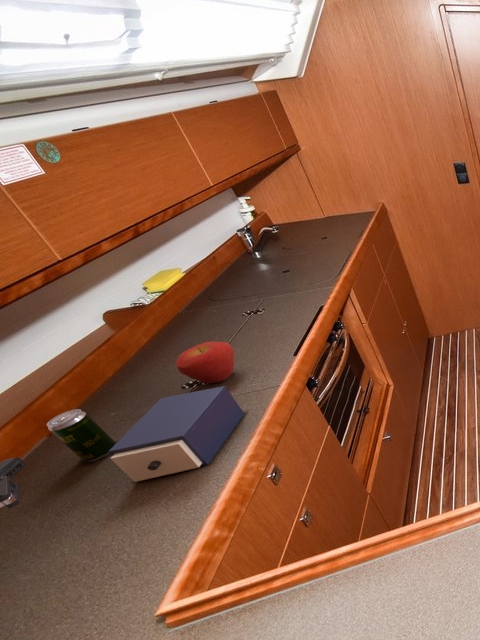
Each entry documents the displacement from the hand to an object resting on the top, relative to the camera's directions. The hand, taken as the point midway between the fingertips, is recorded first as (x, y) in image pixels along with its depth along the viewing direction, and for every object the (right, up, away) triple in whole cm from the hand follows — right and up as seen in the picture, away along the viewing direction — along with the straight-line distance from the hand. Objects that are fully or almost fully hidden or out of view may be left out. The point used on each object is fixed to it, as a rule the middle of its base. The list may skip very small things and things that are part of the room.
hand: (16, 461), depth 68 cm
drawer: (-1, -9, +27) cm, 28 cm away
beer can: (-23, -11, +28) cm, 38 cm away
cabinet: (-2, -9, +29) cm, 31 cm away
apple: (-17, +2, +49) cm, 52 cm away
